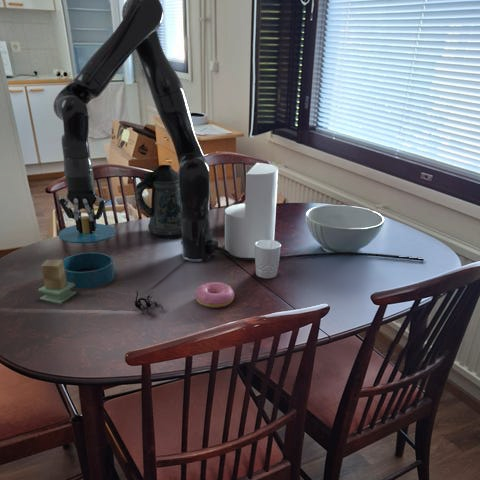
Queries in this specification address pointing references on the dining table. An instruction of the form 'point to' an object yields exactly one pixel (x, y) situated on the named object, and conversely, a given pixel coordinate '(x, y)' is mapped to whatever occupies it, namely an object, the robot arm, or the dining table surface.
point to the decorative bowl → (343, 227)
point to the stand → (57, 293)
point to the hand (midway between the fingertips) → (87, 231)
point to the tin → (89, 277)
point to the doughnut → (214, 295)
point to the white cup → (267, 258)
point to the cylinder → (253, 212)
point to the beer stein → (162, 202)
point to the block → (54, 274)
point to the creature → (146, 304)
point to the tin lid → (86, 233)
